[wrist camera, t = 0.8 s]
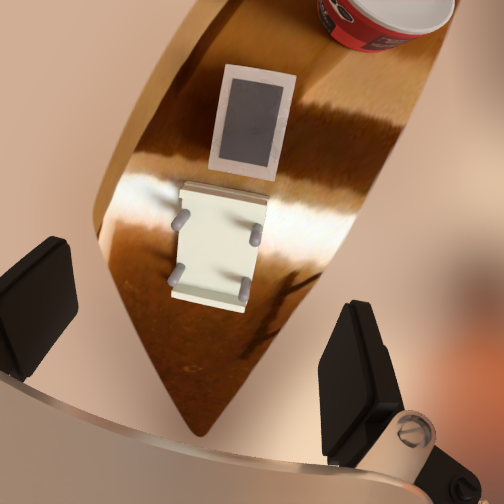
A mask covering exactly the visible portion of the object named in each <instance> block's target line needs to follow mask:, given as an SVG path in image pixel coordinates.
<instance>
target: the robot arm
mask: <svg viewBox="0 0 504 504" xmlns="http://www.w3.org/2000/svg"><path fill="white" fill-rule="evenodd" d="M77 312H78V300H77V294H76V288H75V281H74V275H73V267H72V259H71V251H70V246H69V245H68V244H67V241H66V240H65V239H62V238H58V237H54V236H50V237H49V238H47V239H46V240H45V241H43V242H42V243H41V244H40V245H38V246H37V247H36V248H34V249H33V250H32V251H31V252H30V253H28V254H27V255H26V256H25V257H23V258H22V259H21V260H20V261H18V262H17V263H16V264H15V265H14V266H13V267H11V268H10V269H9V270H8V271H7V272H6V273H4V274H3V275H2V276H1V277H0V504H489V503H488V502H487V501H486V500H484V501H483V502H482V501H481V500H480V498H481V485H480V482H479V480H478V478H477V477H476V476H475V475H474V474H473V473H472V472H471V471H469V470H468V469H466V468H465V467H464V466H462V465H461V464H460V463H458V462H457V461H455V460H454V459H453V458H451V457H450V456H449V455H447V454H446V453H445V452H443V451H442V450H441V449H439V448H438V447H437V446H436V445H435V442H436V430H435V427H434V425H433V424H432V422H431V421H430V420H429V419H428V418H427V417H426V416H425V415H424V414H422V413H419V412H417V411H413V410H405V409H404V405H403V401H402V397H401V394H400V390H399V387H398V383H397V379H396V376H395V372H394V369H393V365H392V362H391V359H390V356H389V352H388V349H387V348H386V346H385V345H383V342H382V338H381V335H380V332H379V329H378V326H377V323H376V319H375V316H374V313H373V310H372V307H371V305H370V303H369V302H363V301H358V300H352V301H351V302H350V304H349V303H345V305H344V306H343V309H342V311H341V313H340V316H339V318H338V320H337V323H336V325H335V328H334V330H333V332H332V334H331V337H330V339H329V341H328V344H327V346H326V348H325V350H324V353H323V355H322V357H321V359H320V361H319V365H318V378H319V379H318V381H319V397H320V415H321V435H322V454H323V456H327V462H328V465H339V467H337V466H326V465H316V464H304V463H294V462H285V461H277V460H270V459H263V458H256V457H250V456H243V455H237V454H231V453H226V452H221V451H216V450H211V449H206V448H202V447H197V446H193V445H189V444H185V443H181V442H177V441H173V440H169V439H166V438H162V437H159V436H155V435H151V434H148V433H145V432H142V431H139V430H135V429H132V428H129V427H126V426H123V425H120V424H117V423H115V422H112V421H109V420H106V419H104V418H101V417H98V416H96V415H93V414H90V413H88V412H85V411H83V410H80V409H78V408H76V407H73V406H71V405H69V404H66V403H64V402H62V401H60V400H57V399H55V398H53V397H51V396H48V395H46V394H44V393H42V392H40V391H38V390H36V389H34V388H32V387H30V386H28V385H26V384H24V383H23V382H24V381H25V379H26V378H27V377H30V376H31V375H32V374H33V372H34V371H35V370H36V368H37V367H38V365H39V364H40V363H41V361H42V360H43V358H44V357H45V356H46V354H47V353H48V351H49V350H50V348H51V347H52V346H53V345H54V343H55V342H56V341H57V339H58V338H59V337H60V335H61V334H62V333H63V331H64V330H65V329H66V327H67V326H68V325H69V323H70V322H71V321H72V320H73V318H74V317H75V316H76V314H77ZM9 374H10V376H9Z"/></svg>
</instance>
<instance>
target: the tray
mask: <svg viewBox="0 0 504 504" xmlns="http://www.w3.org/2000/svg"><path fill="white" fill-rule="evenodd" d="M269 197H270V196H265V195H260V194H255V193H251V192H246V191H240V190H235V189H230V188H225V187H220V186H214V185H209V184H203V183H198V182H192V181H186V182H185V183H184V186H183V187H182V188H181V189H180V193H179V198H182V207H181V212H180V213H179V215H178V216H177V217H176V218H175V219H174V220H173V222H172V223H171V227H172V229H173V230H175V231H179V239H178V251H177V264H176V267H175V268H174V270H173V272H172V273H171V275H170V277H169V279H168V281H167V282H168V284H169V285H170V286H172V287H174V288H173V289H172V295H171V297H174V298H178V299H182V300H186V301H191V302H195V303H199V304H204V305H208V306H213V307H218V308H222V309H227V310H232V311H236V312H241V313H244V310H245V305H246V304H247V300H248V298H249V292H250V287H251V281H252V277H253V272H254V268H255V263H256V258H257V254H258V249H259V245H260V243H261V237H262V231H263V226H264V221H265V217H266V212H267V207H268V203H269Z"/></svg>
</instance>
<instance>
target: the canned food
mask: <svg viewBox="0 0 504 504" xmlns="http://www.w3.org/2000/svg"><path fill="white" fill-rule="evenodd" d="M453 9H454V0H318V1H317V10H318V15H319V18H320V21H321V23H322V24H323V26H324V28H325V29H326V30H327V31H328V33H329V34H330V35H331V36H332V37H333V38H335V39H336V40H337V41H338V42H340V43H341V44H343V45H344V46H346V47H349V48H351V49H353V50H356V51H360V52H366V53H377V52H382V51H385V50H388V49H390V48H393V47H395V46H398V45H400V44H403V43H405V42H408V41H410V40H413V39H416V38H418V37H421V36H424V35H426V34H428V33H431V32H433V31H435V30H437V29H439V28H440V27H442V26H443V25H444V24H445V23H446V22H447V21H448V20H449V18H450V17H451V15H452V13H453Z"/></svg>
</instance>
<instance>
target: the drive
mask: <svg viewBox="0 0 504 504" xmlns="http://www.w3.org/2000/svg"><path fill="white" fill-rule="evenodd" d="M295 81H296V76H294V75H289V74H284V73H279V72H274V71H269V70H263V69H257V68H251V67H244V66H237V65H230V64H226V66H225V71H224V76H223V81H222V87H221V92H220V98H219V104H218V109H217V115H216V121H215V127H214V133H213V139H212V146H211V152H210V159H209V165H208V169H212V170H218V171H223V172H229V173H234V174H239V175H244V176H249V177H254V178H259V179H264V180H269V181H274V180H275V176H276V171H277V166H278V162H279V157H280V152H281V148H282V143H283V138H284V133H285V129H286V124H287V119H288V114H289V110H290V105H291V100H292V95H293V91H294V86H295Z"/></svg>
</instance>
